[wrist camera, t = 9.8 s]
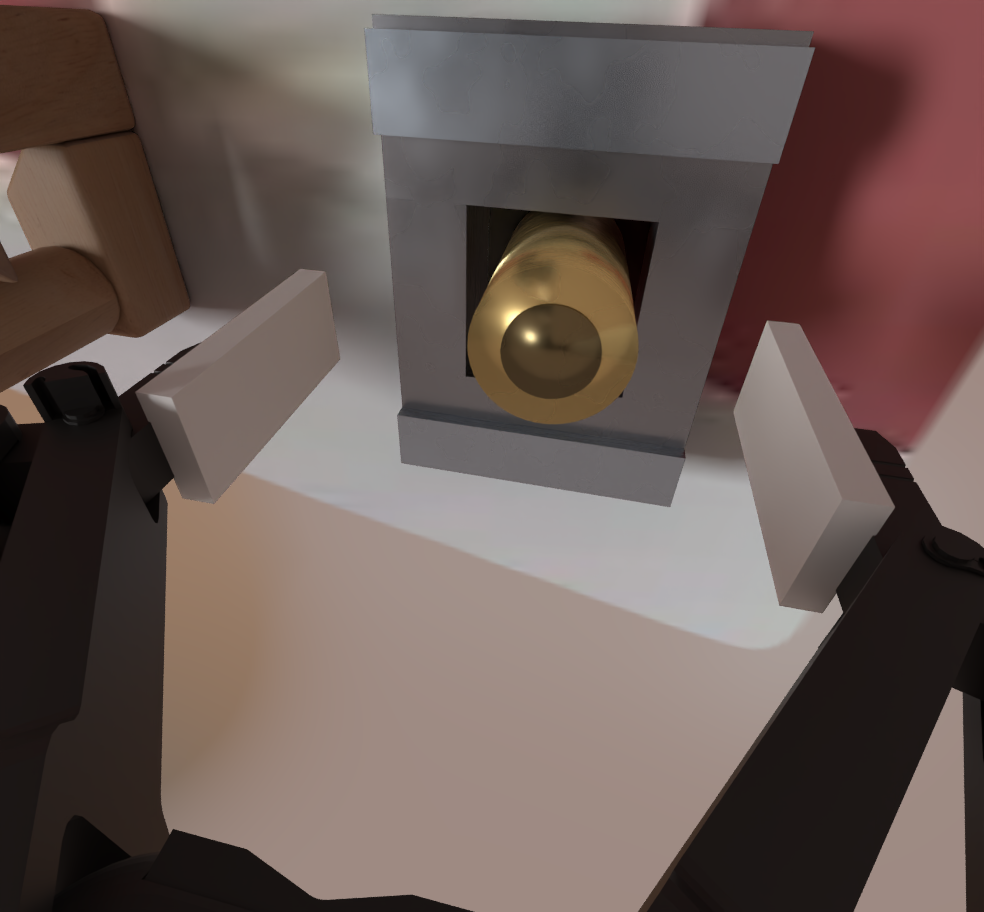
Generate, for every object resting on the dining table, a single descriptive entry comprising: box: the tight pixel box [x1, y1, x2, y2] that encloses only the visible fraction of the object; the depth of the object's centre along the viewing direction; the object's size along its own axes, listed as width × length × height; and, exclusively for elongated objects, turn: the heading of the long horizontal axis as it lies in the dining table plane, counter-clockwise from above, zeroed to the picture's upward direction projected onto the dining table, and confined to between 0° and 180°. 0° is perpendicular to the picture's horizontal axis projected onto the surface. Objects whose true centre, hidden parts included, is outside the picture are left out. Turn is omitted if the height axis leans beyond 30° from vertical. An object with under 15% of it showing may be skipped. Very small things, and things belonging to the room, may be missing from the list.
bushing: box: [467, 211, 639, 424], centre depth 17 cm, size 4×4×8 cm
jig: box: [364, 14, 815, 507], centre depth 19 cm, size 15×11×4 cm
